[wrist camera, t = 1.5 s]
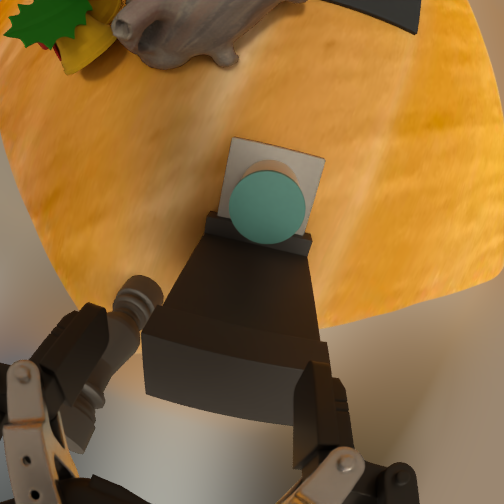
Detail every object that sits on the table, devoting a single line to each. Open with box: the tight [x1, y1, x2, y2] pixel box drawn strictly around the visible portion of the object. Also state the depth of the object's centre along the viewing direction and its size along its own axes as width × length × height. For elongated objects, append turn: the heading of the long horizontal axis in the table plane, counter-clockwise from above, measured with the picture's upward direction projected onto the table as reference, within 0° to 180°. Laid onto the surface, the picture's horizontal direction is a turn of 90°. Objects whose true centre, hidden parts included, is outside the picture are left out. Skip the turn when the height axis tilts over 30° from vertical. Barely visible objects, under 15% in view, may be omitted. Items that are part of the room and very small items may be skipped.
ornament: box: [4, 0, 122, 75], centre depth 17 cm, size 21×8×15 cm, turn 15°
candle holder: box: [59, 275, 163, 454], centre depth 29 cm, size 6×6×25 cm
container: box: [229, 160, 306, 244], centre depth 27 cm, size 6×6×8 cm
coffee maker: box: [141, 137, 331, 426], centre depth 25 cm, size 17×12×20 cm
